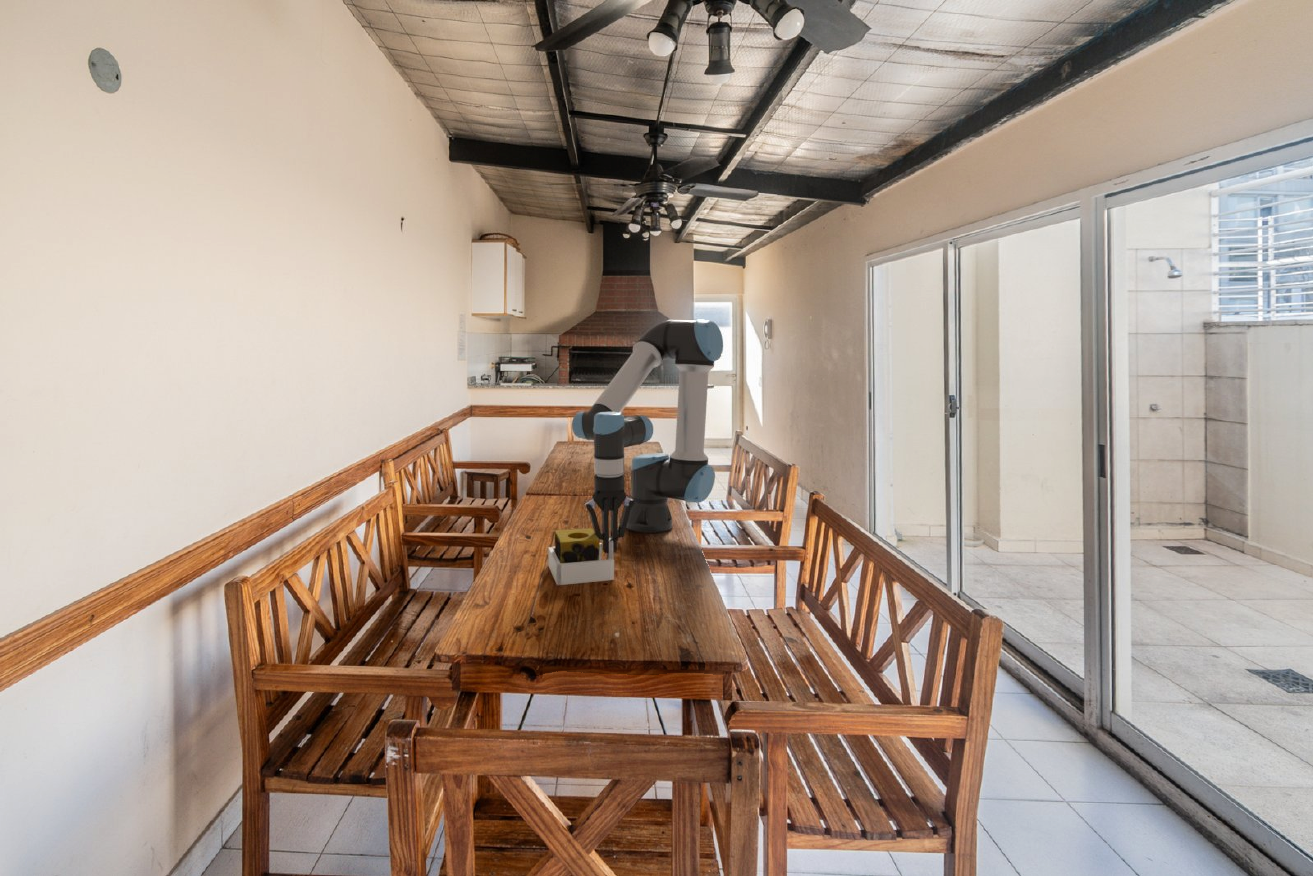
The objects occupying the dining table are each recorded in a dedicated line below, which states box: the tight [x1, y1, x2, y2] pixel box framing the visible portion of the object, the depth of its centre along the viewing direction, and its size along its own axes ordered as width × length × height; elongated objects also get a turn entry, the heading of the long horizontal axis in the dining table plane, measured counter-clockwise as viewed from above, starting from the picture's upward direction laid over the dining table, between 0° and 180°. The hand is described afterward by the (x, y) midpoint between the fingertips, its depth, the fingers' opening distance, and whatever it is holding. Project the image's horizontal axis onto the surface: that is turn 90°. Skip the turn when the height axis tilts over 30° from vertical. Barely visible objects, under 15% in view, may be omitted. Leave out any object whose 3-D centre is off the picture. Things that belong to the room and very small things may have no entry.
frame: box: [547, 542, 615, 586], centre depth 160 cm, size 14×14×5 cm
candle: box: [554, 527, 601, 563], centre depth 160 cm, size 10×10×10 cm
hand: (610, 564), depth 163 cm, fingers closed
